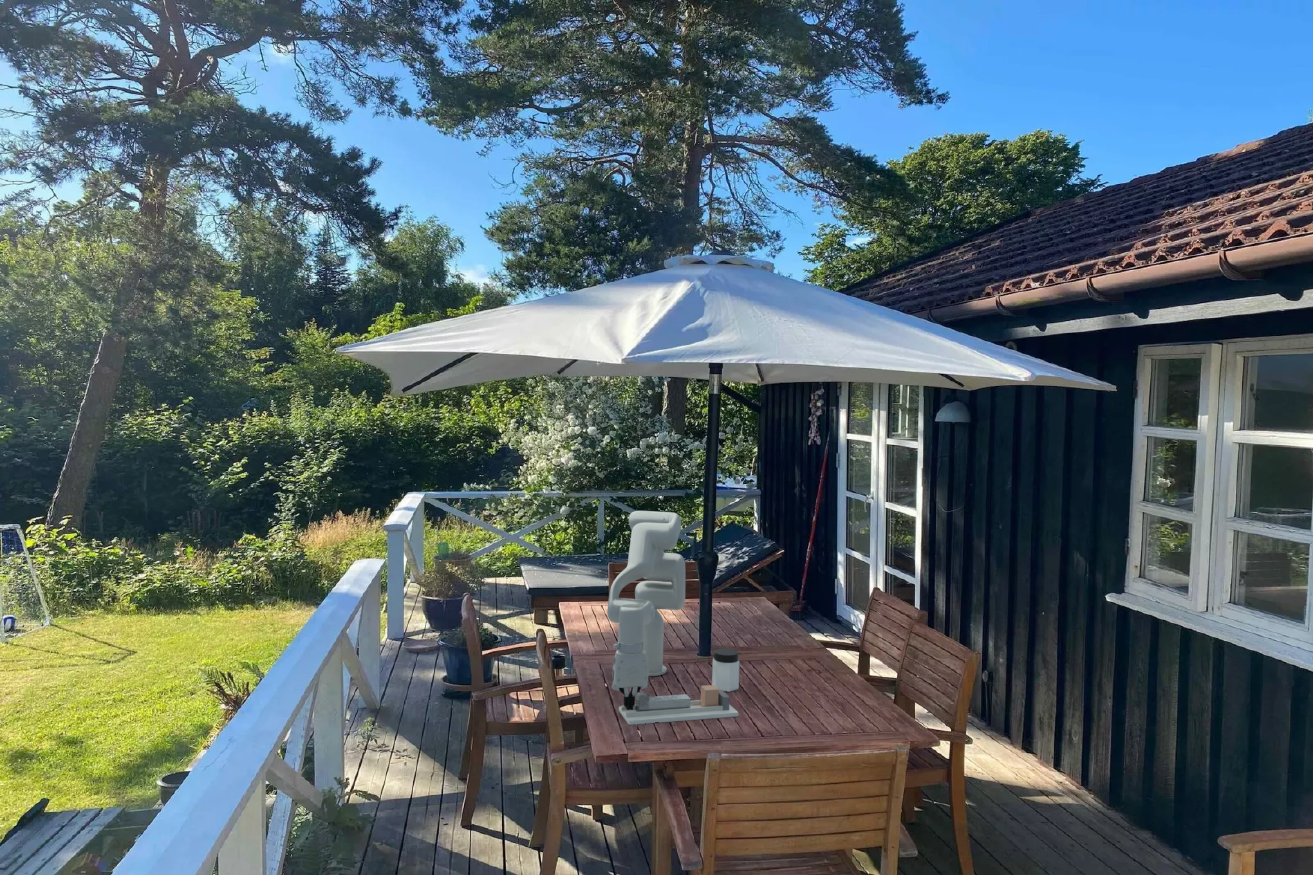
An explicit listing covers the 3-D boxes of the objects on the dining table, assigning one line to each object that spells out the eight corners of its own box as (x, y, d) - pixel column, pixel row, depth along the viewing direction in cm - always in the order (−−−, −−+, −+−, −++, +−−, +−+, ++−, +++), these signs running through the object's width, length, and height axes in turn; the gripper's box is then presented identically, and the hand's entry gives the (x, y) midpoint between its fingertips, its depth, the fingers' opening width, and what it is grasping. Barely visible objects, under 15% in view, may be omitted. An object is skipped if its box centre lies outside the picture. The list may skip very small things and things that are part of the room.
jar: (725, 682, 291) (726, 646, 291) (743, 688, 285) (744, 652, 285) (706, 687, 285) (708, 651, 285) (725, 693, 279) (726, 657, 279)
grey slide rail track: (618, 710, 260) (619, 693, 260) (723, 703, 270) (724, 686, 270) (629, 724, 249) (629, 707, 248) (738, 716, 258) (738, 699, 258)
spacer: (700, 705, 264) (701, 685, 264) (713, 704, 265) (714, 685, 265) (704, 709, 260) (705, 690, 260) (717, 709, 261) (718, 689, 261)
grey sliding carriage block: (635, 709, 257) (635, 692, 257) (685, 705, 262) (686, 689, 262) (639, 714, 254) (639, 696, 253) (690, 710, 258) (690, 693, 258)
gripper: (609, 651, 248) (607, 714, 249) (658, 649, 253) (656, 711, 253) (603, 644, 256) (601, 705, 256) (651, 642, 260) (649, 702, 260)
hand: (628, 708), depth 255 cm, fingers closed
